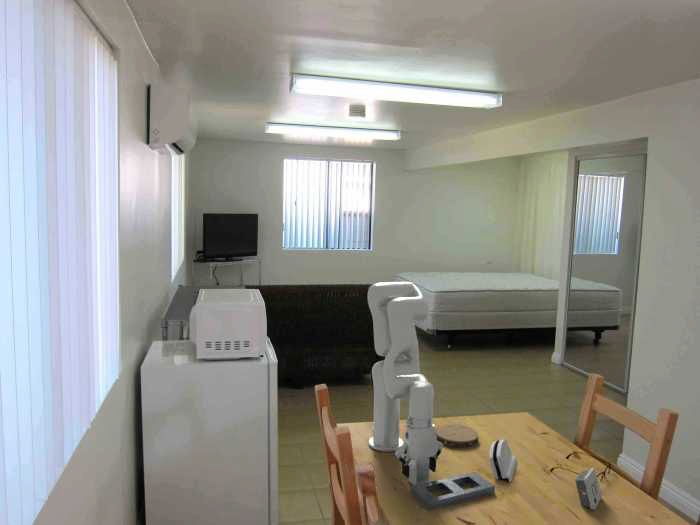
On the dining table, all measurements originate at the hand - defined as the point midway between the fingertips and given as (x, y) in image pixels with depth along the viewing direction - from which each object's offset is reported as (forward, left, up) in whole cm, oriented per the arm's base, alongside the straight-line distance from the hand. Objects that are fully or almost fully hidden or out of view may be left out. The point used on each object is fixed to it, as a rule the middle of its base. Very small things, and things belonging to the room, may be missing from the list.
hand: (418, 473), depth 178 cm
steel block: (0, 0, -3) cm, 3 cm away
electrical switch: (+30, +41, -4) cm, 51 cm away
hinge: (+3, +31, -4) cm, 31 cm away
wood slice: (-23, +31, -4) cm, 39 cm away
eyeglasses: (+15, +54, -4) cm, 56 cm away
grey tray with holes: (+10, +6, -3) cm, 12 cm away
